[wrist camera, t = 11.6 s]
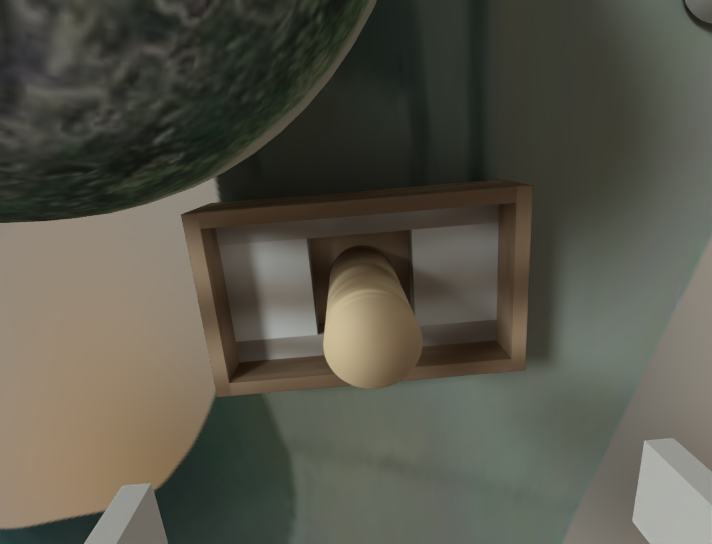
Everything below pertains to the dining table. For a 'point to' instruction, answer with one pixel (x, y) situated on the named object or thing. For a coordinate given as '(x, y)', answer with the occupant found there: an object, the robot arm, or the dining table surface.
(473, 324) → the crate
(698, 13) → the beverage can
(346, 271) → the peg
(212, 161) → the vase
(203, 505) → the dining table surface
